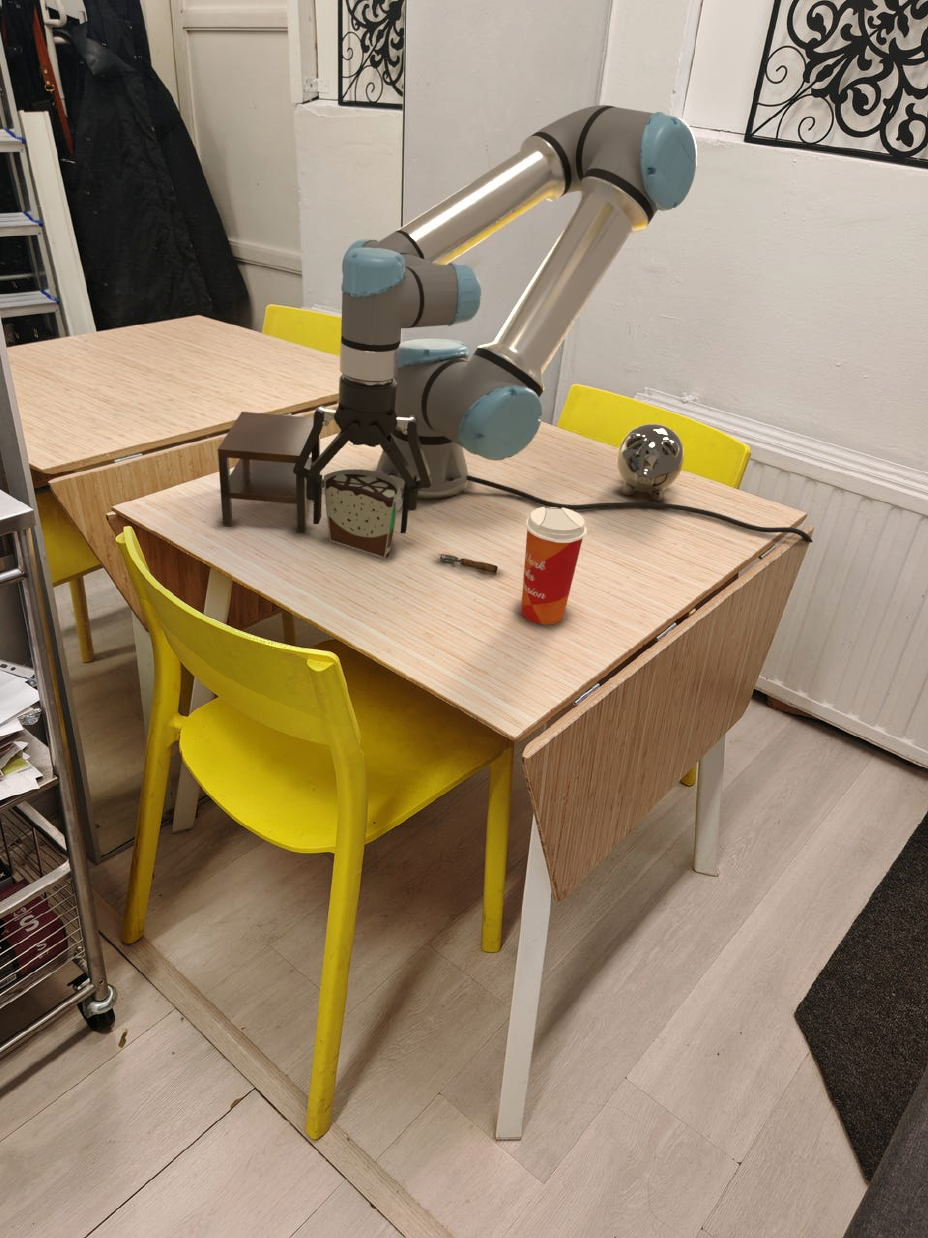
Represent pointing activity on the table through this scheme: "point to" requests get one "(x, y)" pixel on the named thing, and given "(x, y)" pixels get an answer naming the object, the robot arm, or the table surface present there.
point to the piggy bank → (650, 459)
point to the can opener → (471, 563)
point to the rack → (265, 462)
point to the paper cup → (550, 562)
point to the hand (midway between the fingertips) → (360, 524)
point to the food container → (362, 509)
